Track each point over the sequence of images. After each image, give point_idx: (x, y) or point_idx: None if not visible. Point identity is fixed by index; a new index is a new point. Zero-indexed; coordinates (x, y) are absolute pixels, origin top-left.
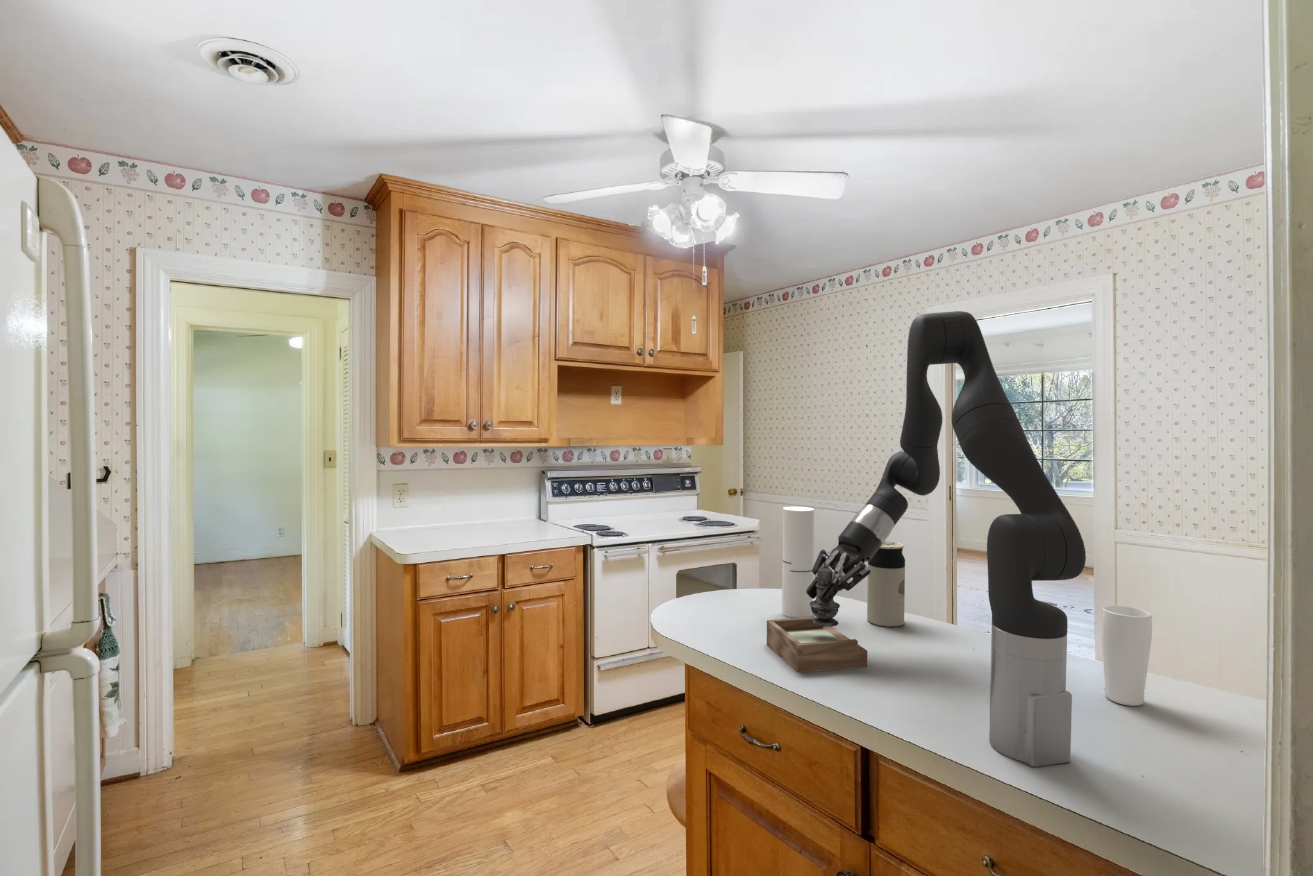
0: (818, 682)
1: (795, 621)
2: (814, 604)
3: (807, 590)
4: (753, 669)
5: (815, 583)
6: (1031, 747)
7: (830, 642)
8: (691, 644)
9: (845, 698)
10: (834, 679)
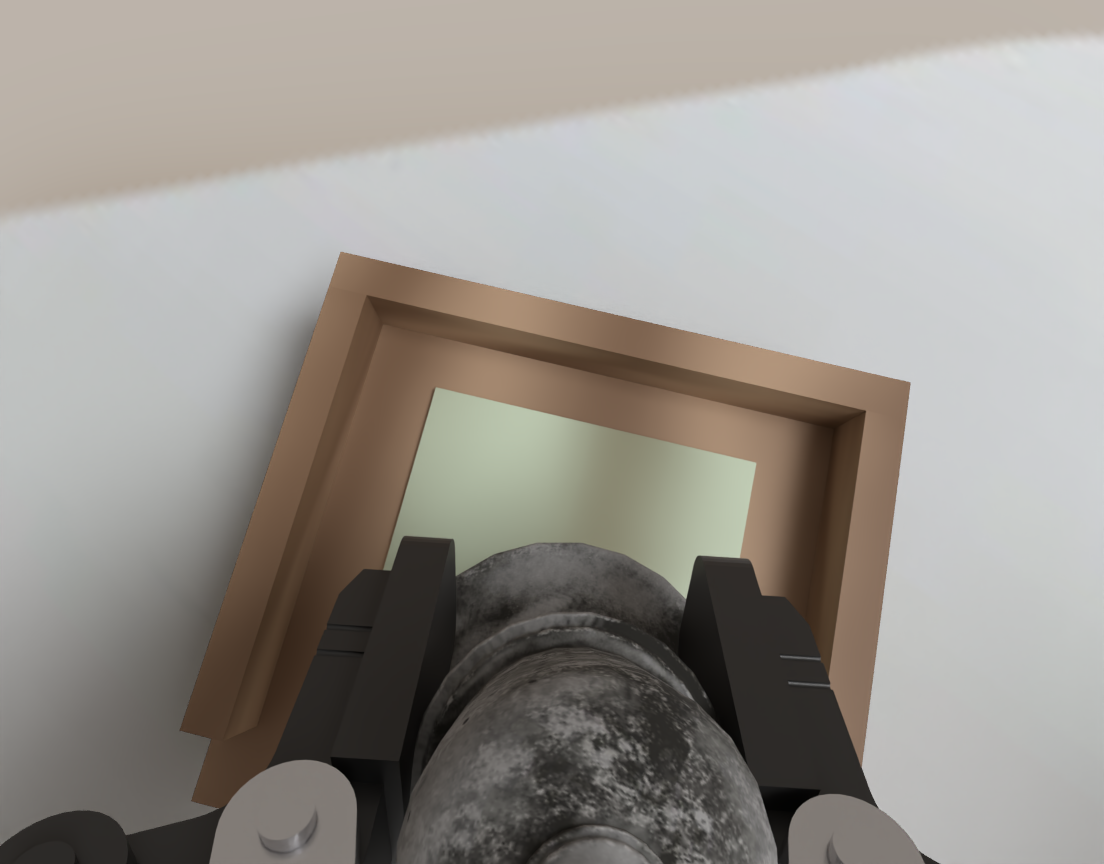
0: (226, 340)
1: (833, 605)
2: (575, 578)
3: (731, 565)
4: (528, 153)
5: (727, 701)
6: None
7: (268, 497)
8: (975, 61)
9: (8, 333)
10: (209, 443)
